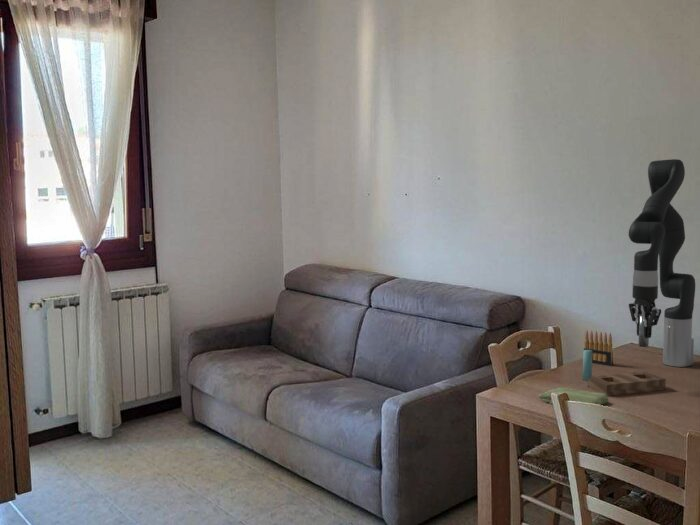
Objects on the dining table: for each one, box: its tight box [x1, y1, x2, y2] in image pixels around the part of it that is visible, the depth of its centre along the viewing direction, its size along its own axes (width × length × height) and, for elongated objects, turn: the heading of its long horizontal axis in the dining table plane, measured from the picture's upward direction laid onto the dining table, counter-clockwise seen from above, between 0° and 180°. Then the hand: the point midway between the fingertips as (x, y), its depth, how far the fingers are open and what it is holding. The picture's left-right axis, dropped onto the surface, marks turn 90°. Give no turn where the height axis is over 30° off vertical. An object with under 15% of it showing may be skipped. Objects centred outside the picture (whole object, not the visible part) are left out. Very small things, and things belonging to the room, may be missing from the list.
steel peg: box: [638, 315, 650, 348], centre depth 233 cm, size 3×3×10 cm
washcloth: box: [538, 387, 609, 405], centre depth 221 cm, size 13×18×3 cm
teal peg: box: [582, 349, 593, 382], centre depth 244 cm, size 3×3×10 cm
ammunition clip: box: [583, 329, 614, 367], centre depth 265 cm, size 11×2×12 cm, turn 48°
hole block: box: [587, 370, 667, 397], centre depth 234 cm, size 22×10×4 cm, turn 105°
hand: (643, 336), depth 233 cm, fingers closed on steel peg, 3 cm apart
